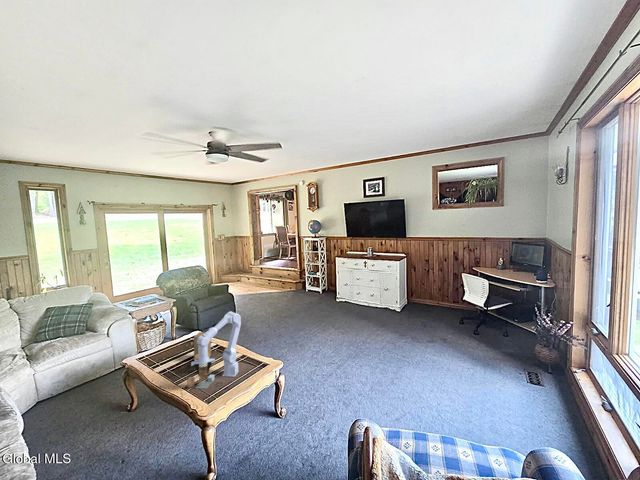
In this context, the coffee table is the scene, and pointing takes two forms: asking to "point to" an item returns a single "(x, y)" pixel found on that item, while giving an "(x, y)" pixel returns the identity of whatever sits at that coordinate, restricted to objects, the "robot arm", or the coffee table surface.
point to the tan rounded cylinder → (190, 382)
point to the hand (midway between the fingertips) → (203, 374)
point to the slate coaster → (203, 385)
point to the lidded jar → (198, 359)
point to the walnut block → (203, 372)
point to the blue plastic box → (211, 378)
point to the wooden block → (197, 344)
